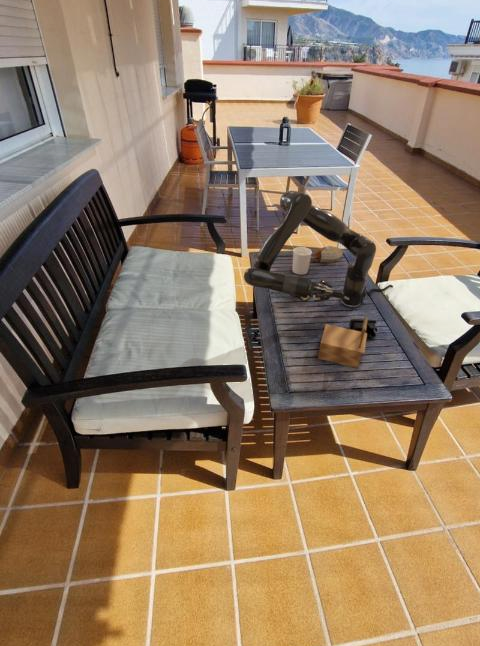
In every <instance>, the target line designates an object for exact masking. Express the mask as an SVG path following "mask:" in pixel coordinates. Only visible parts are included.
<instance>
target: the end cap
mask: <svg viewBox="0 0 480 646" xmlns="http://www.w3.org/2000/svg"><path fill="white" fill-rule="evenodd" d="M363 321H364V318H363V319H362V318H361V319H360V318H351V319H350V320H349V329H351V330H355V331H360V332H362V328H363ZM376 323H377V320H376V319H370V318H368V321H367V328H366V332H365V333H367V338H366V340H375V337H376V335H377V333H376V332H378V328H377V326H376Z"/></svg>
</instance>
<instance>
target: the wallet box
mask: <svg viewBox="0 0 480 646" xmlns="http://www.w3.org/2000/svg"><path fill="white" fill-rule="evenodd" d="M362 355H363V354H360V353H356V352H351V351H347V350H343V349H339V348H334V347H330V346H326V345H322V344H321V343H320V344H319V350H318V355H317V359H318V360H322V361H326V362H331V363H334V364H338V365H342V366H347V367H349V368H350V367H351V368H355V369H359V367H360V363H361V359H362Z"/></svg>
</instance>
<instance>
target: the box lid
mask: <svg viewBox="0 0 480 646" xmlns="http://www.w3.org/2000/svg"><path fill="white" fill-rule="evenodd" d="M363 319H364V321H363V328H362V332H360V331H355V330H351V329H350V328H347V327H341V326H337V325H333V324H329V323H325V326H324V330H323V333H322V337H321V341H320V344H322V345H326V346H330V347H334V348H339V349H343V350H347V351H351V352H356V353H360V354H362V355H365V351H366V344H367V339H366V338H367V333H365V332H366V328H367V321H368V319H369V318H368V317H367V316H365V317H363Z"/></svg>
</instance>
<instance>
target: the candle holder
mask: <svg viewBox="0 0 480 646" xmlns="http://www.w3.org/2000/svg"><path fill="white" fill-rule="evenodd" d="M311 250H312V249H310V248H308V247H305V246H296V247H294V248H293V250H292V266H291V268H292V269H291V270H292V273H294V275H297V276H303V275H306V274H307V273H308V272H309V268H310V263H311V260H312V257H311V256H312V255H313V252H312V251H311ZM310 259H311V260H310Z"/></svg>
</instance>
